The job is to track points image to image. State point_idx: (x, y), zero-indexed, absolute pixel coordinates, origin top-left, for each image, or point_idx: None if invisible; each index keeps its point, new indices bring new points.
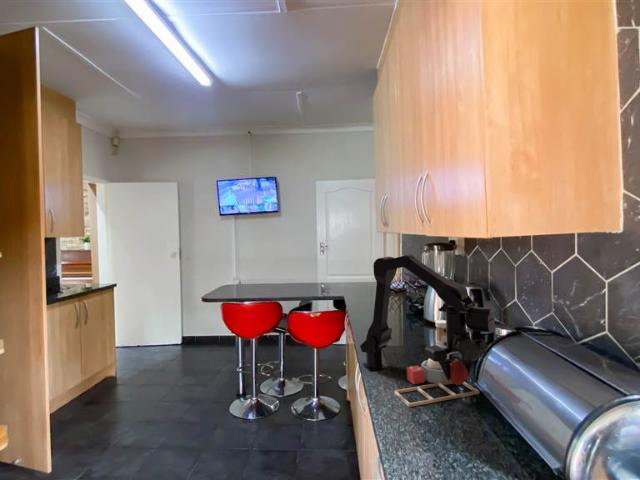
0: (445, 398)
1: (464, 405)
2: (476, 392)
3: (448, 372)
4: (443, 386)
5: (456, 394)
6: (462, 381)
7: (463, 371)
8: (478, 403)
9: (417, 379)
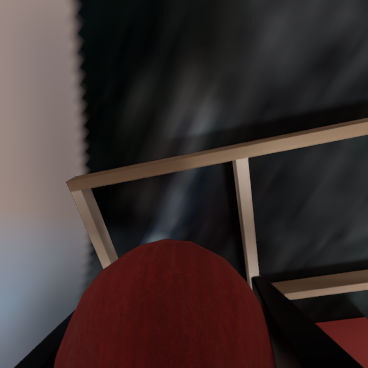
0: (326, 129)
1: (240, 27)
2: (91, 175)
3: (325, 347)
4: (255, 265)
5: (235, 158)
6: (160, 240)
7: (120, 334)
8: (130, 43)
9: (359, 342)
